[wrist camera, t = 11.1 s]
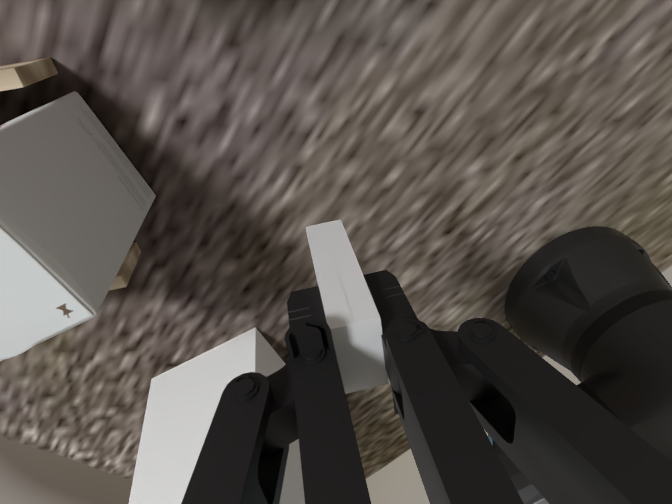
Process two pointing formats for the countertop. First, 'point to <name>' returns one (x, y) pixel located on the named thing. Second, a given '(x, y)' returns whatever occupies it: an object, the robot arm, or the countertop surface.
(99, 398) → the countertop surface
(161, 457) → the milk
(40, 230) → the supplement box
